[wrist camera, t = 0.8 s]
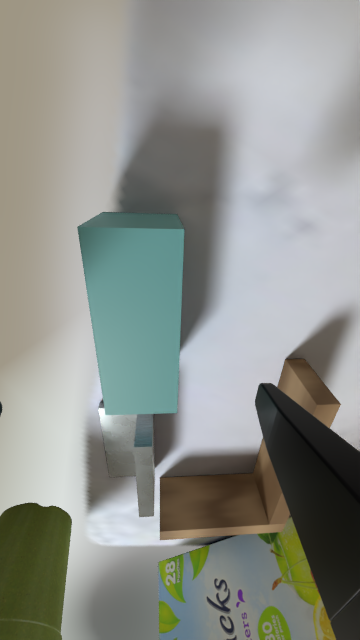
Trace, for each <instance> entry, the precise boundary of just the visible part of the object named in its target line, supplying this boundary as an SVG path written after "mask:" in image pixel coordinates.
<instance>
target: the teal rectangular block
mask: <svg viewBox="0 0 360 640" xmlns="http://www.w3.org/2000/svg"><path fill="white" fill-rule="evenodd" d="M78 234H79V241H80V247H81V254H82V261H83V268H84V274H85V281H86V288H87V294H88V301H89V308H90V314H91V321H92V328H93V335H94V341H95V348H96V355H97V361H98V368H99V375H100V381H101V388H102V395H103V401H104V408H105V415H131V414H162V413H177V404H178V379H179V354H180V329H181V304H182V279H183V254H184V227H183V225H182V223H181V221H180V219H179V217H178V215H177V214H149V213H114V212H102V213H100V214H99V215H97V216H95V217H94V218H92V219H90V220H89V221H87V222H85V223H83V224H82V225H80V226H78Z"/></svg>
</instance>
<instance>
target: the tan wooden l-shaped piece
mask: <svg viewBox="0 0 360 640" xmlns="http://www.w3.org/2000/svg"><path fill="white" fill-rule="evenodd" d="M277 388H279V389H280V390H281V391H282V392H284V393H285V394H286V395H288V396H289V397H290V398H291V399H293V400H294V401H295V402H297V403H298V404H299V405H300V406H302V407H303V408H304V409H305V410H307V411H308V412H309V413H311V414H312V415H313V416H314V417H316V418H317V419H318V420H320V421H321V422H322V423H323V424H325V425H326V426H327V427H329V428H330V426H331V424H332V422H333V420H334V418H335V416H336V413H337V411H338V409H339V407H340V405H341V404H340V403H339V401H338V400H337V399H336V398H335V396H334V395H333V394H332V393H331V392H330V390H329V389H328V388H327V387H326V385H325V384H324V383H323V382H322V380H321V379H320V378H319V377H318V375H317V374H316V373H315V372H314V370H313V369H312V368H311V367H310V365H309V364H308V363H307V362H306V360H305V359H285V362H284V366H283V369H282V373H281V377H280V380H279V384H278V387H277ZM289 516H290V512H289V509H288V507H287V504H286V501H285V498H284V496H283V493H282V490H281V488H280V485H279V482H278V479H277V477H276V474H275V471H274V468H273V466H272V463H271V460H270V458H269V455H268V452H267V449H266V446H265V442H264V438H263V440H262V443H261V447H260V450H259V454H258V457H257V461H256V464H255V468H254V471H253V473H247V474H226V475H206V476H185V477H164V478H160V540H169V539H184V538H199V537H214V536H229V535H244V534H259V533H274V532H282V531H283V529H284V527H285V524H286V522H287V520H288V518H289Z"/></svg>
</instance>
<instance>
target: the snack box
mask: <svg viewBox="0 0 360 640" xmlns="http://www.w3.org/2000/svg"><path fill="white" fill-rule="evenodd" d="M158 576H159V640H336V638H335V635H334V632H333V630H332V627H331V624H330V622H331V621H330V620H329V618H328V616H327V613H326V610H325V607H324V605H323V602H322V599H321V597H320V594H319V591H318V588H317V586H316V583H315V580H314V577H313V575H312V572H311V569H310V567H309V564H308V561H307V558H306V556H305V553H304V550H303V547H302V545H301V542H300V539H299V537H298V534H297V531H296V528H295V526H294V523H293V520H292V517H289V518H288V520H287V522H286V524H285V527H284V529H283V531H282V532H274V533H259V534H244V535H237V536H234V537H231V538H228V539H225V540H222V541H219V542H216V543H213V544H210V545H208V546H205V547H202V548H199V549H196V550H193V551H190V552H187V553H184V554H181V555H178V556H175V557H173V558H169V559H166V560H163V561H160V562H159V563H158Z"/></svg>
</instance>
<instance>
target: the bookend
mask: <svg viewBox="0 0 360 640" xmlns="http://www.w3.org/2000/svg"><path fill="white" fill-rule="evenodd" d="M98 410H99V416H100V422H101V428H102V434H103V440H104V446H105V453H106V459H107V465H108V471H109V477H126V476H136V481H137V494H138V506H139V517H149V516H154V484H155V455H154V414H131V415H105V408H104V403H100V404H99V408H98Z"/></svg>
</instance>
